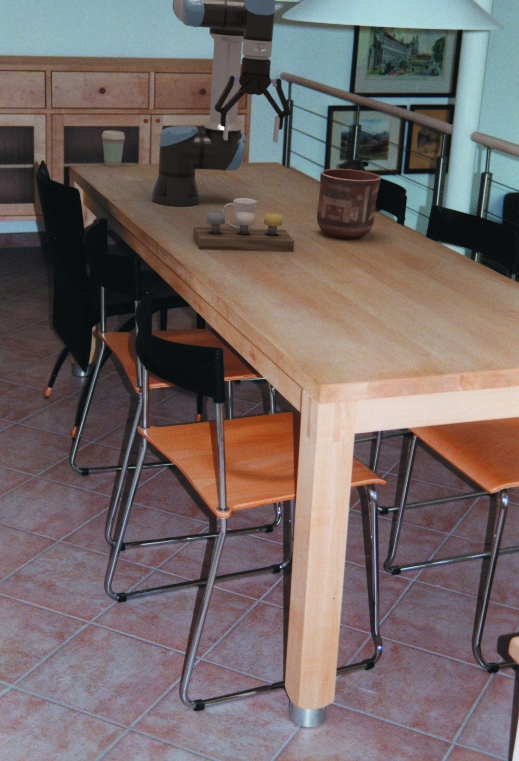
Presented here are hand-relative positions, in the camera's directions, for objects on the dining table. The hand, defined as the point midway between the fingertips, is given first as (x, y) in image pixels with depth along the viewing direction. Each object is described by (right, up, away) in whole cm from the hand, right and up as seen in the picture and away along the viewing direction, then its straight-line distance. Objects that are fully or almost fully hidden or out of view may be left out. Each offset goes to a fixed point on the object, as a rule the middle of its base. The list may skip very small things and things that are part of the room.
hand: (250, 140), depth 262 cm
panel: (-2, -26, +9) cm, 28 cm away
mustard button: (+6, -23, +9) cm, 26 cm away
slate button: (-10, -23, +6) cm, 26 cm away
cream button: (-2, -23, +8) cm, 25 cm away
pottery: (+27, -21, +28) cm, 45 cm away
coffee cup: (-52, +15, +99) cm, 113 cm away
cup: (-4, -19, +27) cm, 33 cm away
